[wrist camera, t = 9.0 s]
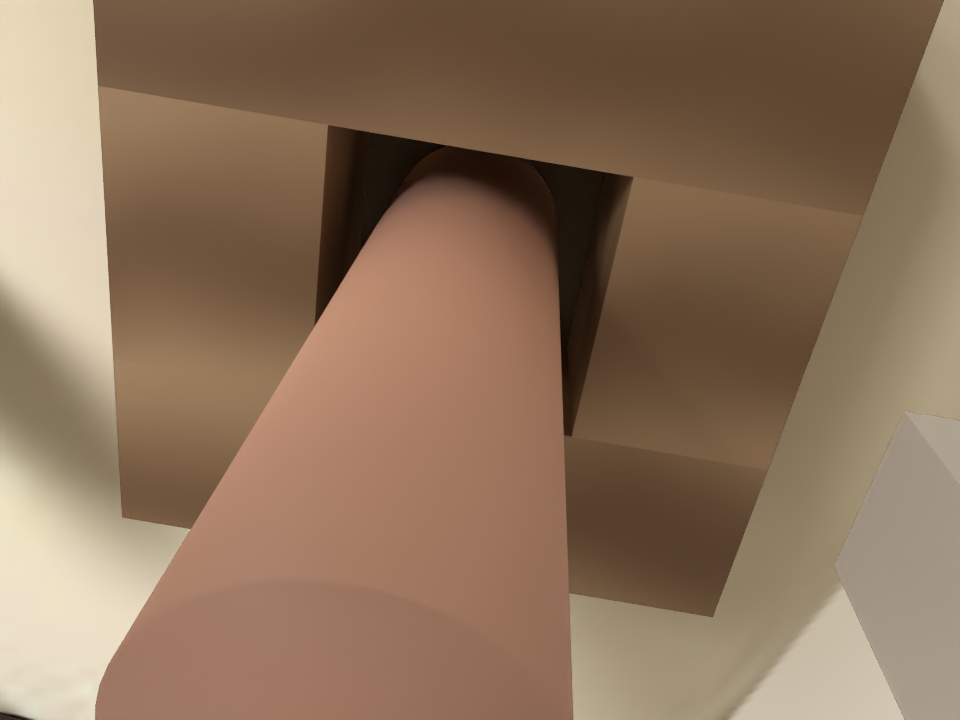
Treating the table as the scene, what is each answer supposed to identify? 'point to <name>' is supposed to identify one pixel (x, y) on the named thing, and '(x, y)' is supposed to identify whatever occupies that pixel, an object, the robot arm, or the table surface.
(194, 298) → the hole block
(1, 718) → the wine bottle
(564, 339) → the table surface
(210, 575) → the long pin
